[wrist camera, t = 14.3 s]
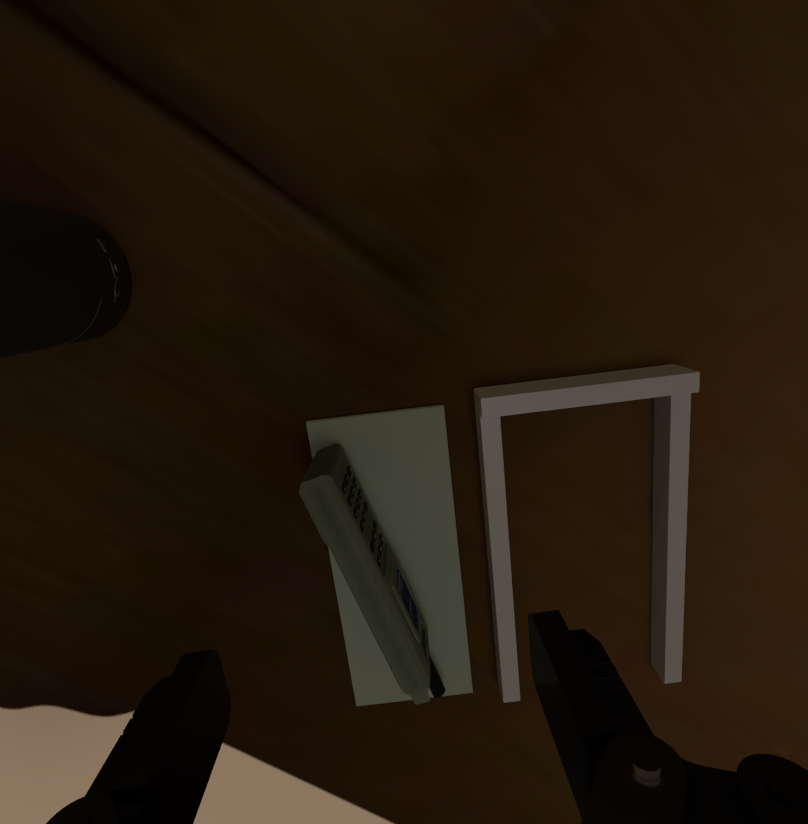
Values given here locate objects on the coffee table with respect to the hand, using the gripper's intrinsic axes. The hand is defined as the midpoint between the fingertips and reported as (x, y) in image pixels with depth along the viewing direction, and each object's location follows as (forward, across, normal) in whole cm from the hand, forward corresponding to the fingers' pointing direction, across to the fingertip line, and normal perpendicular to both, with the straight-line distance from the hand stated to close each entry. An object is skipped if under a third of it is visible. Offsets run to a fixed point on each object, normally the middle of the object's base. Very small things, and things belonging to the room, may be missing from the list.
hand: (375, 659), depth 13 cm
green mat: (+28, +1, +15) cm, 32 cm away
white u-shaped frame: (+28, -15, +15) cm, 35 cm away
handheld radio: (+28, +2, +15) cm, 32 cm away
